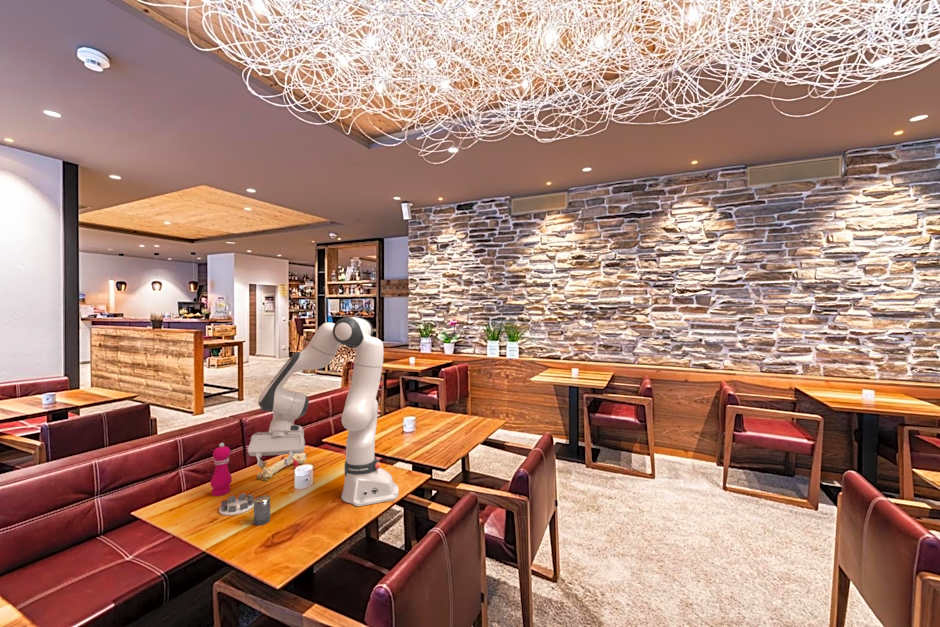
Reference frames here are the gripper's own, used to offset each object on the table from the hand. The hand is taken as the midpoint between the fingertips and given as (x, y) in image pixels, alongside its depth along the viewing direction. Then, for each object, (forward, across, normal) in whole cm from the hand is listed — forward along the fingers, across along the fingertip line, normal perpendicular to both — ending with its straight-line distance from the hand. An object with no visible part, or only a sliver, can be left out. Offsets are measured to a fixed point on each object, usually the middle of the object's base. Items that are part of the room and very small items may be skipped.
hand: (272, 465), depth 146 cm
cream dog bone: (-13, -4, +35) cm, 37 cm away
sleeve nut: (+19, 0, +2) cm, 19 cm away
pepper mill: (+1, -23, +20) cm, 31 cm away
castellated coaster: (+11, -12, +10) cm, 19 cm away
